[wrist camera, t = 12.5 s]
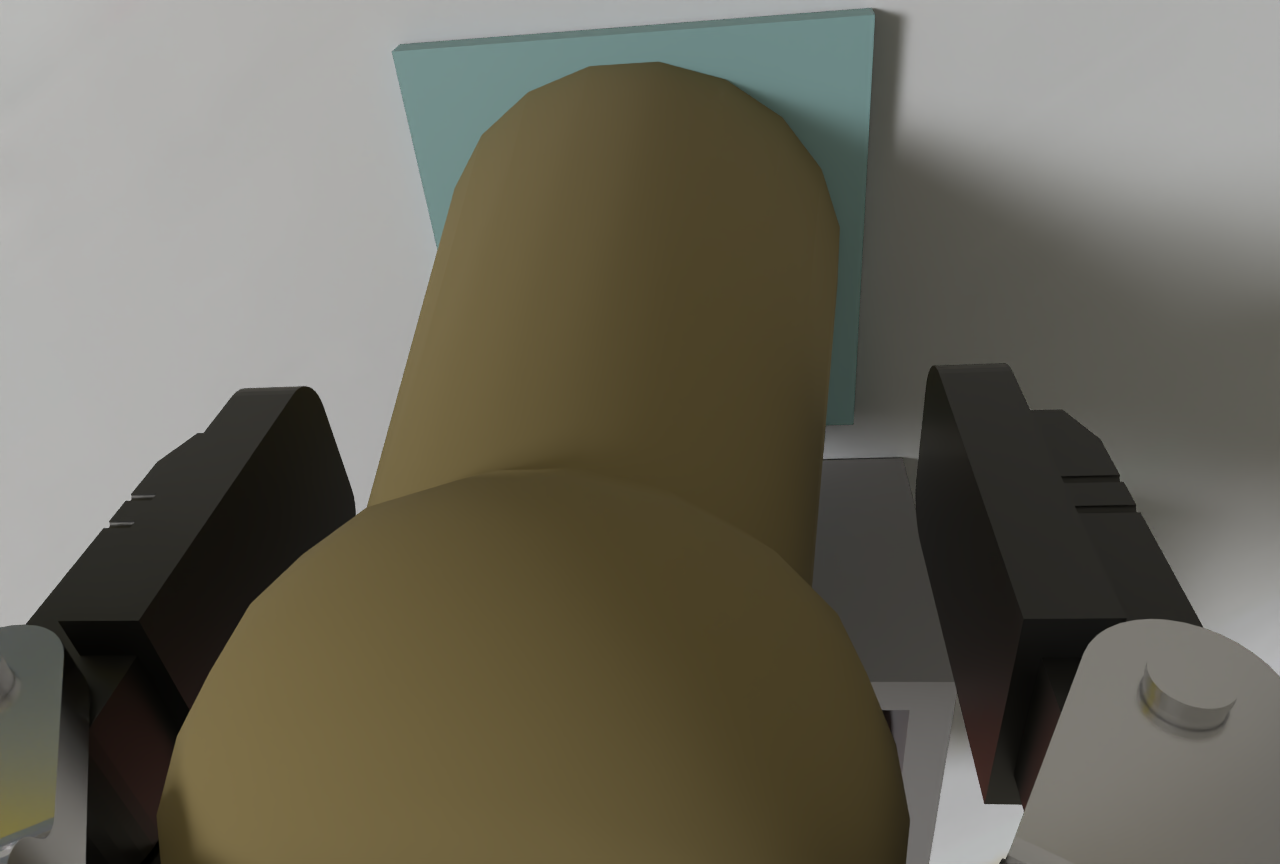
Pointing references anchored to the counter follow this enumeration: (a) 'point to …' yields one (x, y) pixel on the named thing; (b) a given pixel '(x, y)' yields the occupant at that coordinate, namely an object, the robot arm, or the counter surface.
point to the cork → (576, 534)
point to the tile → (729, 49)
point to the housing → (889, 620)
